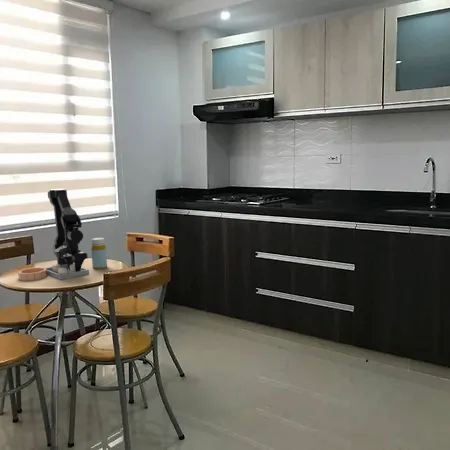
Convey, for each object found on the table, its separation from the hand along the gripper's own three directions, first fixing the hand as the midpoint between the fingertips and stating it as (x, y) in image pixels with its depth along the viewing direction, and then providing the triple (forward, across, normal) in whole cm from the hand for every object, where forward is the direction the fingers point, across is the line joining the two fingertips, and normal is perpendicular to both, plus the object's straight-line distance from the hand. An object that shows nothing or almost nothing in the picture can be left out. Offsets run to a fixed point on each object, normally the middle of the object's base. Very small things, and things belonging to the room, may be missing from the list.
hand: (74, 271), depth 227 cm
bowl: (+1, -8, -16) cm, 18 cm away
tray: (+1, -3, -3) cm, 4 cm away
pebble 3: (+1, 0, 0) cm, 1 cm away
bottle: (+1, -1, +14) cm, 14 cm away
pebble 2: (+1, +3, -7) cm, 8 cm away
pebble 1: (+1, -6, -6) cm, 9 cm away
